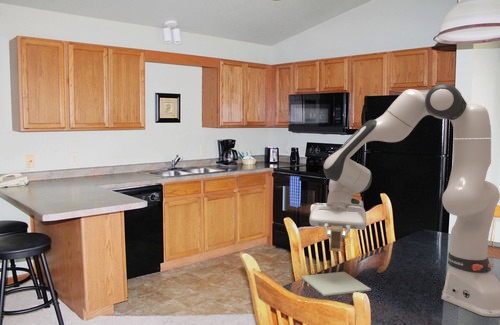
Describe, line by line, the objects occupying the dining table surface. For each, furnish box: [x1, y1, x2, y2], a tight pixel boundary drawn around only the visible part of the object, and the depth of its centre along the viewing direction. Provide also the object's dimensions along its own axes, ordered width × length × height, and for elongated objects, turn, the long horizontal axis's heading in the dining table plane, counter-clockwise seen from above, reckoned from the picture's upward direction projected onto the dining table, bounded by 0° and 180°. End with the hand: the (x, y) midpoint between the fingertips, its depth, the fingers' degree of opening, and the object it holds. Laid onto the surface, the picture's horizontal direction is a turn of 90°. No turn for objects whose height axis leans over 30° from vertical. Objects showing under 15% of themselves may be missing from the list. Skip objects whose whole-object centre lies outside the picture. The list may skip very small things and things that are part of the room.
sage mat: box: [300, 271, 372, 297], centre depth 155 cm, size 18×18×1 cm
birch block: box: [329, 226, 344, 252], centre depth 154 cm, size 4×4×8 cm
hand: (336, 236), depth 154 cm, fingers closed on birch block, 4 cm apart
